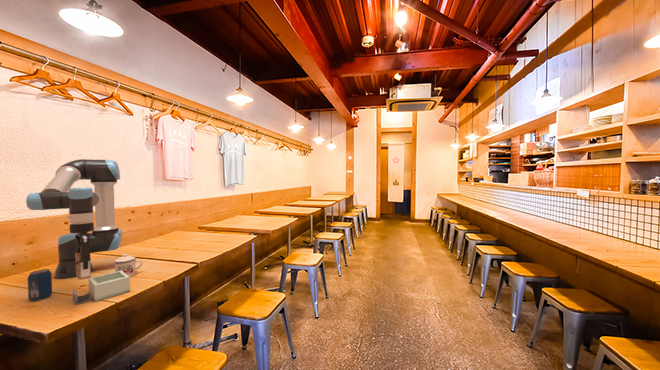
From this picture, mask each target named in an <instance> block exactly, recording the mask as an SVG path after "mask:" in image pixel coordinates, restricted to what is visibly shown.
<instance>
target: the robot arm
mask: <svg viewBox="0 0 660 370" xmlns="http://www.w3.org/2000/svg"><path fill="white" fill-rule="evenodd" d="M120 179H121V171H120V168H119V164H118V162H117V161H116V160H114V159H112V160H111V159H85V158H83V159H75V160H71V161H69V162H66V163H64V164H62V165H60V166H59V167H58V168H57V169H56V170H55V175H54V177H52V179H51V180H50V181H49V182H48V184H47V185H46V186H45V187H44V188H43V189H42V191H41V192H33V193H32V192H31V193H29V194H27V196H26V199H25V202H26V207H27V209H29V210H31V211H47V210H48V211H49V210H50V211H51V210H64V209H66V210H67V209H68V210H69V211H68V214H69V215H68V216H67V219H69V223H70V224H69V233H66V234H61V235H60V236H59V237H58V240H57V241H58V243H57V248H58V249H57V252H58V254H57V255H58V263H57V267H56V268H55V272H54V275H53V276H54V279H59V280H60V279H61V280H62V279H69V278H76V277H77V276H76V263H75V262H76V257H75V253H79V252H80V254H81V261H79V263H81V278H82V277H87V276H90V261H92V258H91V254H94V253H95V254H96V253H102V252H111V251H115V250H118V249H119V248H120V246H121V242H122V235H123V231H122V229H119V226H118V225H116V217H115V216H116V213H115V212H116V211H115V209H116V208H115V185H117V183H118V180H120ZM79 180H82V181H83V180H85V181H87V180H89V181H90V184H91V185H93V186H94V189H93V188H92V187H72V186H73V185H74V184H75V183H76V182H78V181H79ZM93 190H94V191H93ZM94 215H95V217H94ZM94 218H95V219H94ZM94 221H95V223H94ZM86 257H87V258H86ZM93 268H94V266H93V264H92V263H91V272H93V271H94V269H93Z"/></svg>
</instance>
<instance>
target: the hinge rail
mask: <svg viewBox="0 0 660 370" xmlns="http://www.w3.org/2000/svg"><path fill="white" fill-rule="evenodd" d="M71 292H72V301H73V303H74V305H77V306H78V305H80V304H83V303H87V302H91V301H94V298H93V297H92V295H91V294H89V293H88V294H83V295H80V296H79V295H78V291H77V289H75V288H73V289H72V291H71Z"/></svg>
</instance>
